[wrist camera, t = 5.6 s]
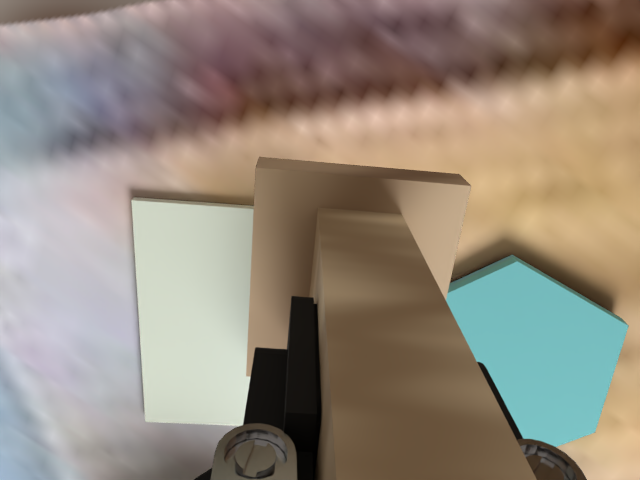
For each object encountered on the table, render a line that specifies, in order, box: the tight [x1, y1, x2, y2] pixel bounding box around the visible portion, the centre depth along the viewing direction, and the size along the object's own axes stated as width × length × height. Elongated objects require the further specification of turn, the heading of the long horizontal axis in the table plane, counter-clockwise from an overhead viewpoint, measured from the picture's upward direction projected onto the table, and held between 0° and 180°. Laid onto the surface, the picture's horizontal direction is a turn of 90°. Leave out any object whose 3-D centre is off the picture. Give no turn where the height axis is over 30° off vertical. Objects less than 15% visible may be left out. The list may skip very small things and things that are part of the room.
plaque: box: [446, 255, 628, 447], centre depth 38 cm, size 18×2×20 cm
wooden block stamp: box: [246, 157, 537, 480], centre depth 11 cm, size 6×7×11 cm
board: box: [131, 197, 254, 426], centre depth 36 cm, size 15×18×1 cm
